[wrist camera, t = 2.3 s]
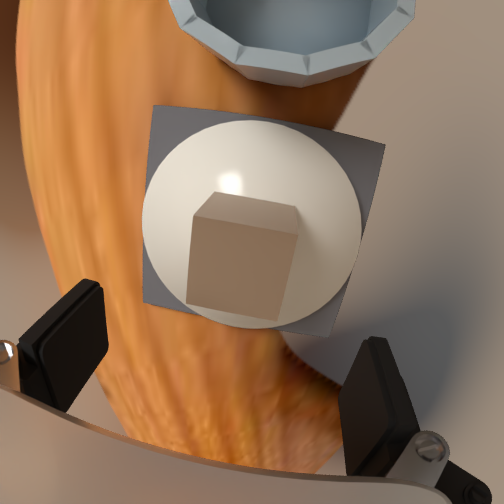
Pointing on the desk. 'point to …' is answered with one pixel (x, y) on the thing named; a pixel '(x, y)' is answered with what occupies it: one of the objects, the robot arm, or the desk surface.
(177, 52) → the desk surface
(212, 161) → the lid
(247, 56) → the bowl
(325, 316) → the mat
